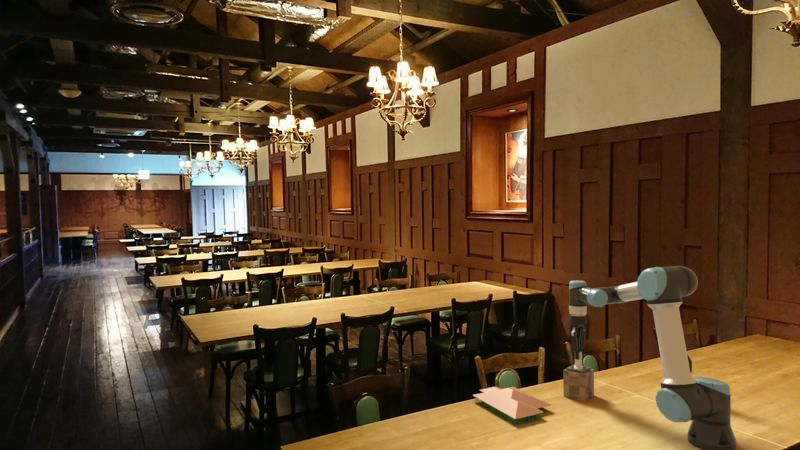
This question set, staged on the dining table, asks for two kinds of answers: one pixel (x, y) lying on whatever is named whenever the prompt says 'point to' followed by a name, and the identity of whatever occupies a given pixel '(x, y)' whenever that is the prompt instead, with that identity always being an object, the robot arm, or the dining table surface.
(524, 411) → the house
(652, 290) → the robot arm
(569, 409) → the dining table surface
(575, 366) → the peg
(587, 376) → the socket block
